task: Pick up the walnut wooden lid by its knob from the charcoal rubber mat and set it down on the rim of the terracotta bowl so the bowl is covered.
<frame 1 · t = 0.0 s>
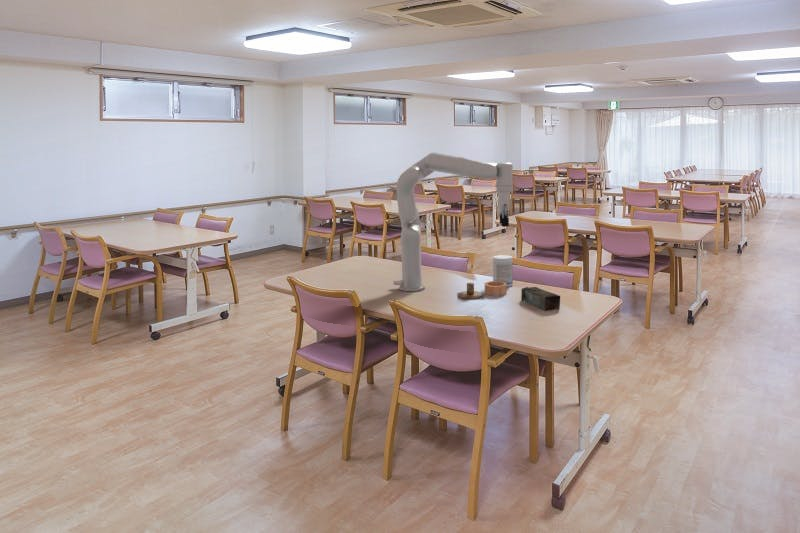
hand: (504, 224, 290), 31 cm above the table, tool pointing down, fingers open, 9 cm apart
lid: (470, 296, 282), point 1 cm above the table, touching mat
supplement tub: (502, 286, 301), on the table
bowl: (495, 294, 286), on the table
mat: (470, 297, 282), on the table
beverage carton: (539, 305, 267), on the table
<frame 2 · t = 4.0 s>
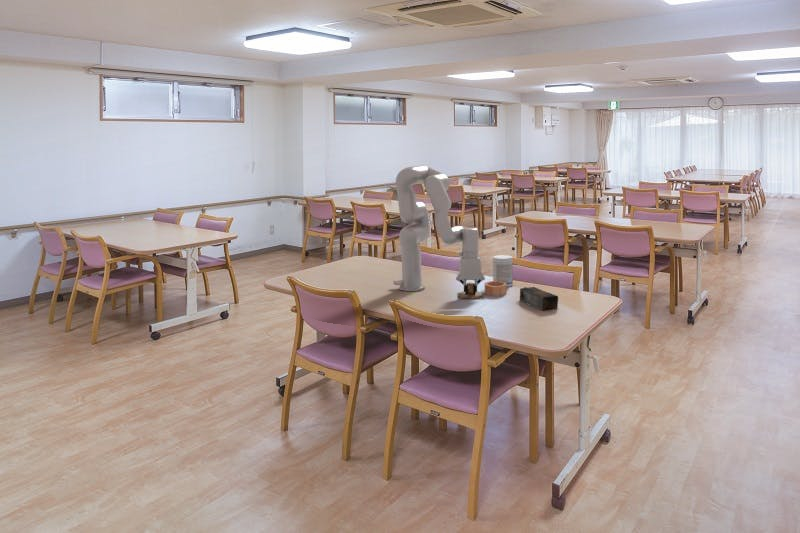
hand: (470, 293, 281), 2 cm above the table, tool pointing down, fingers closed on lid, 3 cm apart
lid: (470, 296, 282), point 1 cm above the table, touching gripper, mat
when the fingers open (7 cm above the table, at t = 8.6 s): lid stays where it is, resting on bowl.
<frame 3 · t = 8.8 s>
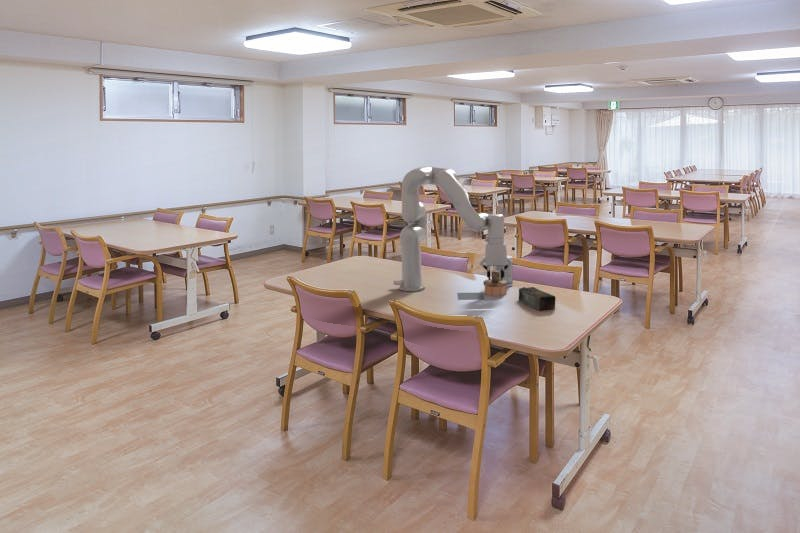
hand: (495, 278, 284), 8 cm above the table, tool pointing down, fingers open, 5 cm apart
lid: (495, 283, 285), point 5 cm above the table, touching bowl
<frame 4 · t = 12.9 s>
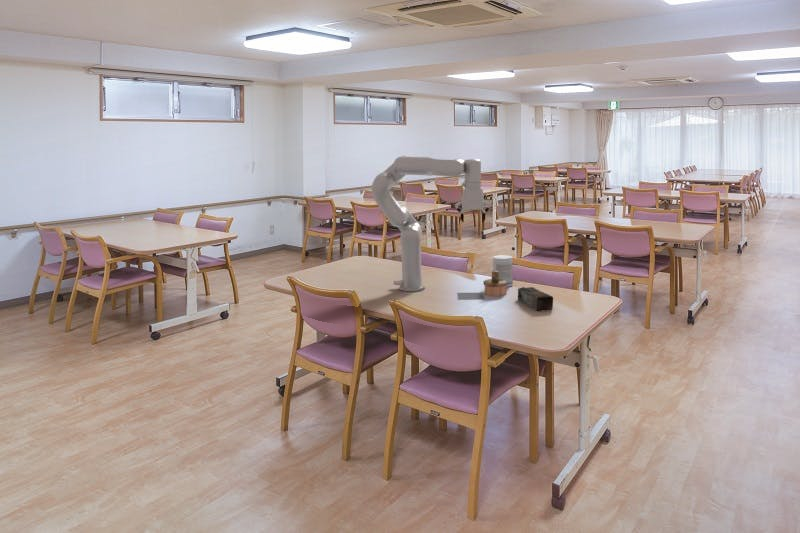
hand: (472, 221, 289), 33 cm above the table, tool pointing down, fingers open, 9 cm apart
at the end: lid 0.1 cm off-centre on the bowl, point 5.0 cm above the bowl's base; lid tilted 0°; the gripper is holding nothing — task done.
